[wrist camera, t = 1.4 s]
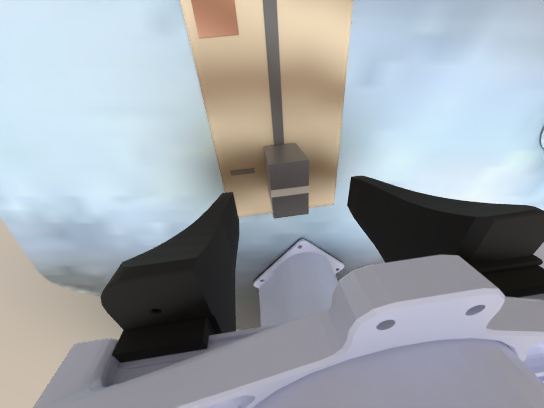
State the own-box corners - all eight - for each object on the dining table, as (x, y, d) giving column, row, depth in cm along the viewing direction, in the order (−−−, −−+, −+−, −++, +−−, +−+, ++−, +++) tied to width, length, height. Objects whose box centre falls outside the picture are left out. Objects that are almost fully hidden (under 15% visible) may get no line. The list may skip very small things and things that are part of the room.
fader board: (328, 196, 21) (334, 205, 19) (232, 209, 20) (231, 218, 19) (353, -140, 10) (370, -174, 9) (155, -131, 10) (140, -165, 8)
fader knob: (296, 188, 18) (308, 214, 14) (268, 192, 18) (273, 219, 14) (295, 142, 16) (309, 160, 12) (263, 146, 16) (268, 165, 12)
